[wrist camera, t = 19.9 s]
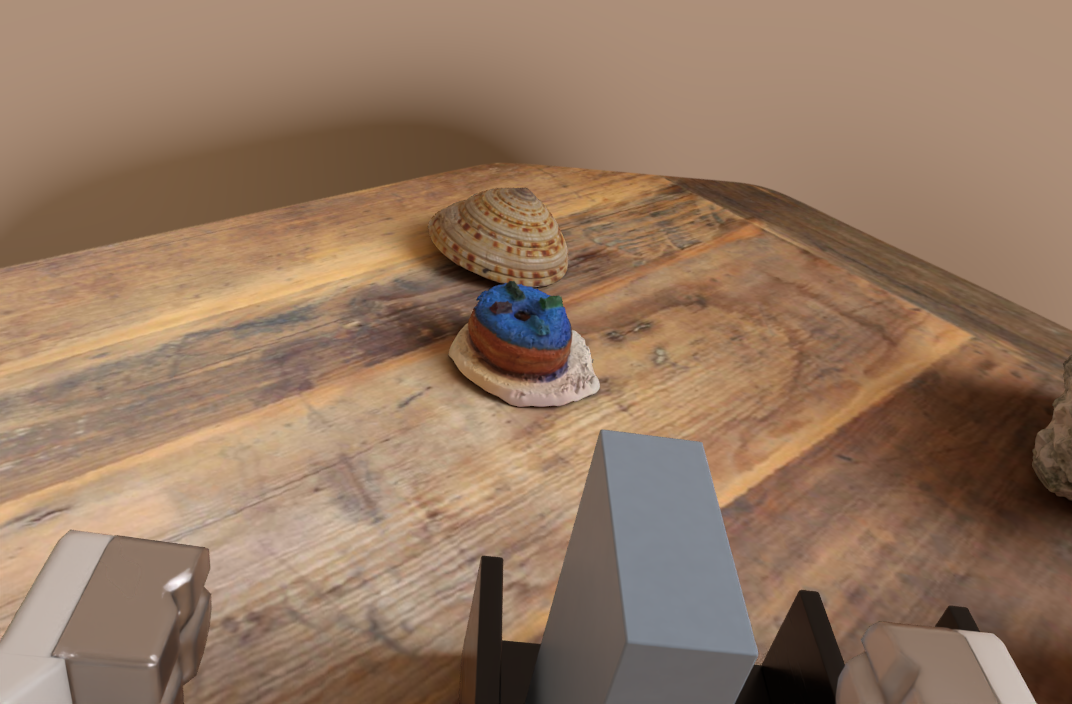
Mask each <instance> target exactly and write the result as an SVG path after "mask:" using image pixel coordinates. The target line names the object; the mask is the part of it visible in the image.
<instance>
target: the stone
mask: <svg viewBox="0 0 1072 704" xmlns="http://www.w3.org/2000/svg"><path fill="white" fill-rule="evenodd" d="M1063 365H1064V374H1063V377H1064V388H1065V391H1064V393H1063V394H1062V395H1061V396H1060V397H1059V398H1057V399H1055V401H1054V402H1053V404H1052V406H1054V413H1053V417H1052V421H1051V422H1050V424H1049V425H1048V427H1047V428H1046V429H1042V430H1041V431H1040V432H1038V433H1037V436H1036V440H1035V448H1034V449H1033V450H1032V451H1033V454H1034V456H1033V460H1034V461H1033V462H1032V467H1033V469H1034V471H1035V473H1036V475H1037V476H1038V477H1039V480H1040V481H1042V483H1043V484H1044V485H1045V487H1046V488H1047V489H1048V490H1049V491H1051V492H1054V493H1055V494H1056V495H1057V496H1062V497H1066V498H1067V499H1069V500H1072V354H1071V355H1070V356H1069V358H1068V359H1067V360H1066V361H1065V362H1064V363H1063Z"/></svg>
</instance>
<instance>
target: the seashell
mask: <svg viewBox="0 0 1072 704" xmlns="http://www.w3.org/2000/svg"><path fill="white" fill-rule="evenodd" d="M428 228H429V235H430V237H431V240H432V242H433V243H434V245H435V246H436V247H437V248H438V249H439V250H440V251H441V252H442V254H444V255H445V256H446V257H447V258H449V259H450V260H452V261H453V262H454V263H456V264H457V265H459V266H461V267H463V268H465V269H467V270H469V271H471V272H474V273H476V274H478V275H480V276H482V277H485V278H487V279H490V280H493V281H496V282H499V283H503V284H504V283H508V282H509V281H515V283H516V284H522V285H523V286H527V287H541V286H547V285H550V284H553V283H555V282H557V281H558V280H560V279H561V278H562V277H563V276H564V275H565V273H566V271H567V265H568V249H567V246H566V242H565V239H564V237H563V235H562V233H561V230H560V229H559V227H558V224H557V222H556V221H555V219H554V217H553V216H552V214H551V213H550V212H549V210H548V209H547V208H546V207H545V205H544V204H543V203H542V202H541V201H540V200H539V199H538V198H537V197H536V196H535V195H534V194H533V193H532V192H531V191H530V190H529V189H528V188H496V189H491V190H486V191H482V192H480V193H476V194H474V195H473V196H471V197H470V198H468V199H467V200H463V201H459V202H456V203H454V204H452V205H450V206H448V207H447V208H445V209H442V210H441V211H438V212H437V213H436V214H435V216H433V217H432V218H431V220H430V221H429V225H428Z"/></svg>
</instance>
